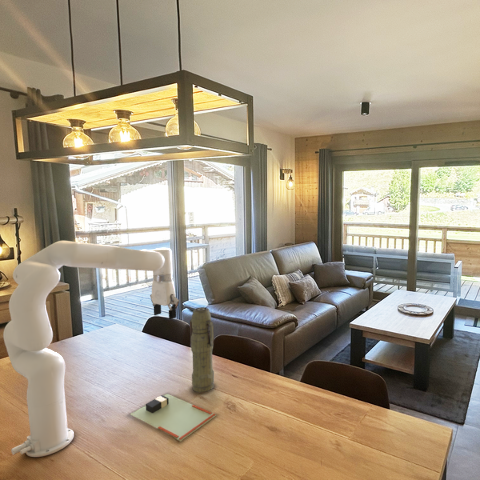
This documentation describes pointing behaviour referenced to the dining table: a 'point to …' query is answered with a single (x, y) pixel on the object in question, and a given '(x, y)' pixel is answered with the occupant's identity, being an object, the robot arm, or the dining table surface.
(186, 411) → the desk mat
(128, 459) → the dining table surface
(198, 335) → the thermos
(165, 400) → the eraser
